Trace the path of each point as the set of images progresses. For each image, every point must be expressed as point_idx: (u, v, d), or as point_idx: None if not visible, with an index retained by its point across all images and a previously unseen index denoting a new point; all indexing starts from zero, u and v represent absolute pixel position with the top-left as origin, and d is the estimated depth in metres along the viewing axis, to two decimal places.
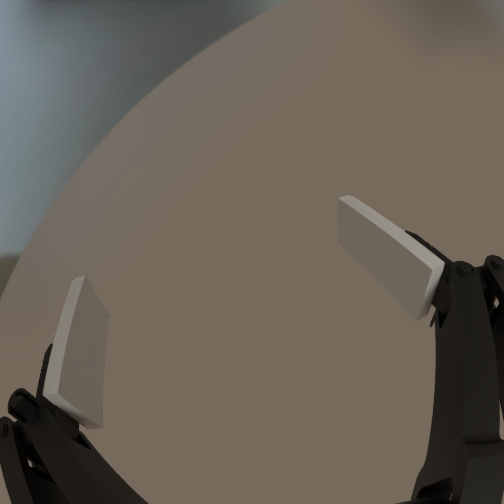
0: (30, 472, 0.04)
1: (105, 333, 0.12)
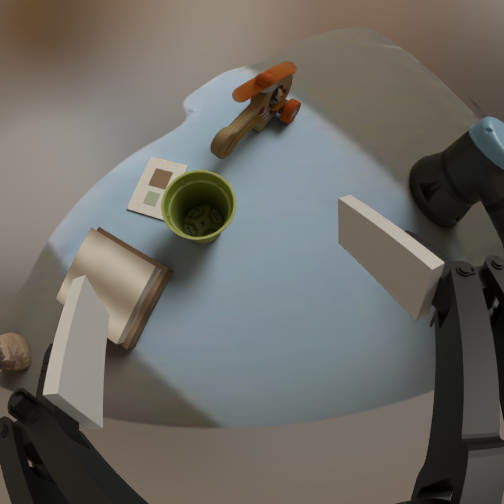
0: (30, 472, 0.04)
1: (105, 333, 0.12)
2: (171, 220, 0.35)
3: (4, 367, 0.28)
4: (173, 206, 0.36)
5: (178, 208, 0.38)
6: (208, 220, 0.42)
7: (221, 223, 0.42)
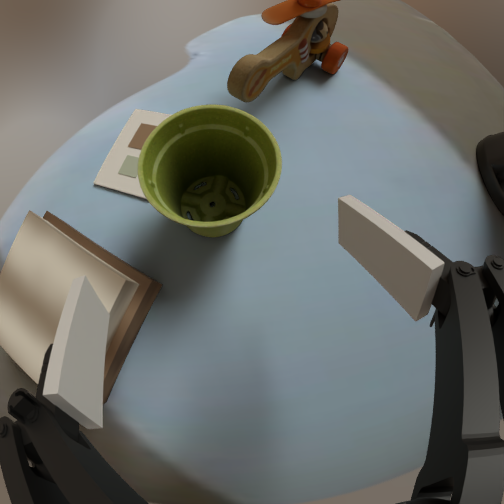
0: (30, 472, 0.04)
1: (105, 333, 0.12)
2: (157, 192, 0.18)
3: None
4: (162, 170, 0.19)
5: (171, 175, 0.21)
6: (222, 198, 0.25)
7: (243, 204, 0.25)
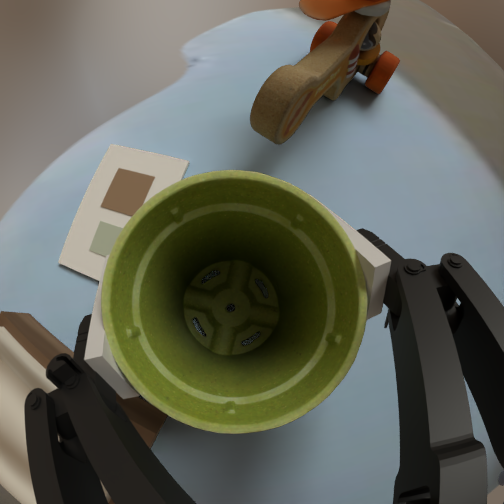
0: (59, 449, 0.05)
1: None
2: (145, 343, 0.10)
3: None
4: (148, 289, 0.11)
5: (166, 282, 0.13)
6: (244, 298, 0.17)
7: (276, 305, 0.17)
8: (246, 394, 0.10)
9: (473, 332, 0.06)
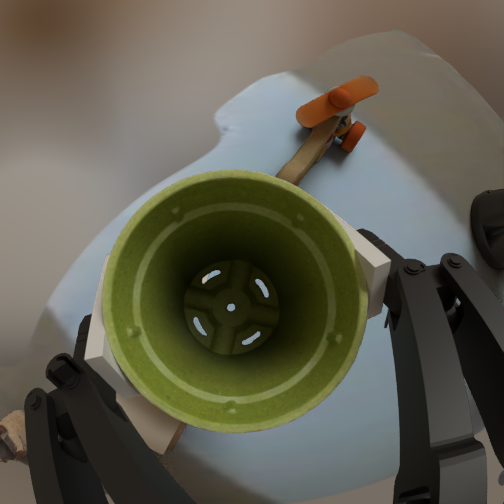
0: (58, 449, 0.05)
1: None
2: (145, 342, 0.10)
3: (18, 456, 0.18)
4: (149, 288, 0.11)
5: (167, 282, 0.13)
6: (245, 298, 0.17)
7: (276, 305, 0.17)
8: (247, 394, 0.10)
9: (473, 332, 0.06)
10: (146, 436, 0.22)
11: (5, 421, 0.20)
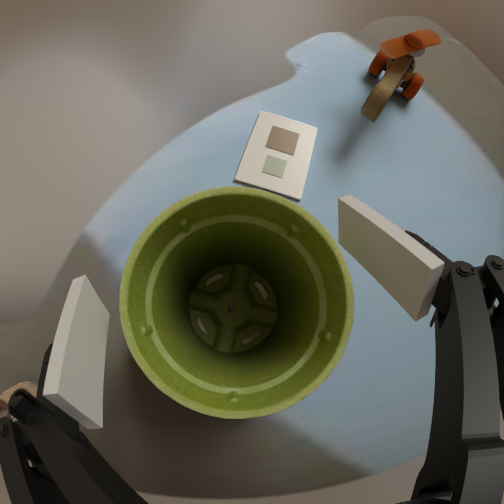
0: (30, 472, 0.04)
1: (105, 333, 0.12)
2: (156, 340, 0.11)
3: None
4: (159, 291, 0.13)
5: (174, 285, 0.15)
6: (245, 300, 0.19)
7: (274, 306, 0.19)
8: (247, 385, 0.12)
9: None
10: None
11: (6, 394, 0.16)
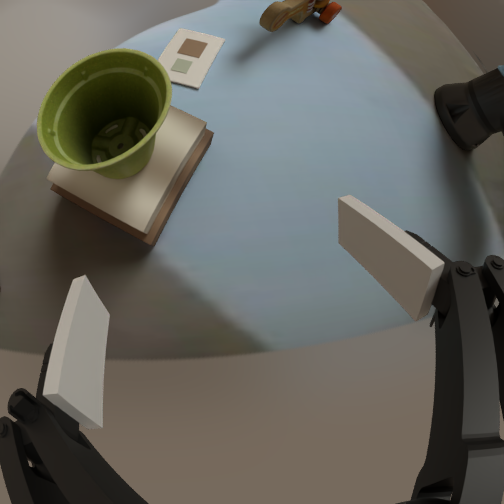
0: (30, 472, 0.04)
1: (105, 333, 0.12)
2: (56, 140, 0.14)
3: None
4: (65, 117, 0.15)
5: (78, 121, 0.17)
6: (130, 140, 0.22)
7: None
8: None
9: None
10: (127, 206, 0.22)
11: None
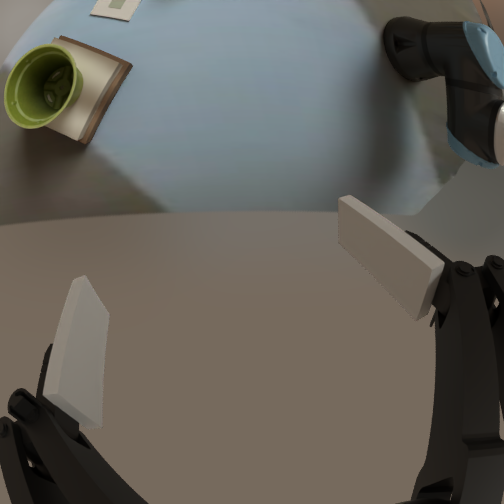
0: (30, 471, 0.04)
1: (105, 333, 0.12)
2: (18, 106, 0.18)
3: None
4: (21, 87, 0.18)
5: (31, 83, 0.19)
6: (68, 82, 0.24)
7: (81, 83, 0.25)
8: (46, 117, 0.21)
9: None
10: (67, 125, 0.27)
11: None
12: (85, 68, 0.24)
